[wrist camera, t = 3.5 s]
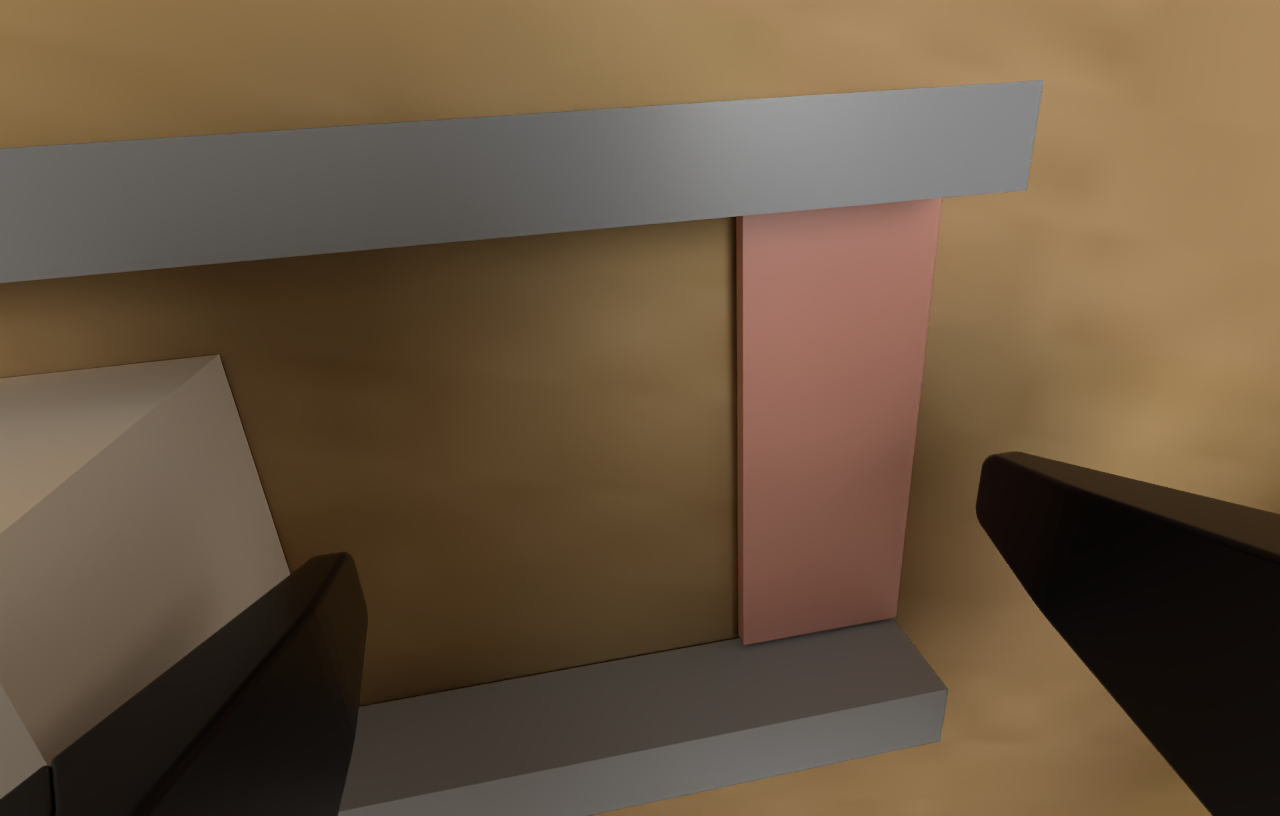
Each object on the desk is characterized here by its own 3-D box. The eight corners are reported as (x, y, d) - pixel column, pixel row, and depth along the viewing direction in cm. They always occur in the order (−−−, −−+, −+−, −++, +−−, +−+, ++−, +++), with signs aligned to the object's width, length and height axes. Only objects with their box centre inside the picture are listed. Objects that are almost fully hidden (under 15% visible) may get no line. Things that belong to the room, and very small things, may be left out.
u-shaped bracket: (941, 87, 10) (1043, 80, 8) (882, 659, 14) (940, 740, 12) (-215, 163, 8) (-440, 178, 6) (122, 804, 12) (53, 929, 10)
